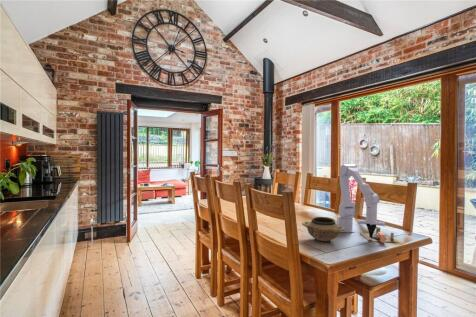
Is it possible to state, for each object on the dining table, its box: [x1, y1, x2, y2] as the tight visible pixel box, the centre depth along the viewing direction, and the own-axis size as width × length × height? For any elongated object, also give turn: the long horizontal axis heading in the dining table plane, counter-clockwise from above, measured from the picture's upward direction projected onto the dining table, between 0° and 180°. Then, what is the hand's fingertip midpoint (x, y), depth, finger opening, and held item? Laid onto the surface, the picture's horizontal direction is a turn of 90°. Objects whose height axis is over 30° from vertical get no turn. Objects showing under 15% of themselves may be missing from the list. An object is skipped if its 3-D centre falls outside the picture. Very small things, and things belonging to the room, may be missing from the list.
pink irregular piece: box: [372, 231, 386, 244], centre depth 165 cm, size 15×9×4 cm, turn 166°
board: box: [359, 226, 399, 244], centre depth 168 cm, size 16×15×6 cm
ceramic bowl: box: [301, 216, 345, 245], centre depth 160 cm, size 24×18×15 cm
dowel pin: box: [390, 231, 395, 240], centre depth 163 cm, size 2×2×4 cm
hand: (370, 236), depth 164 cm, fingers closed
